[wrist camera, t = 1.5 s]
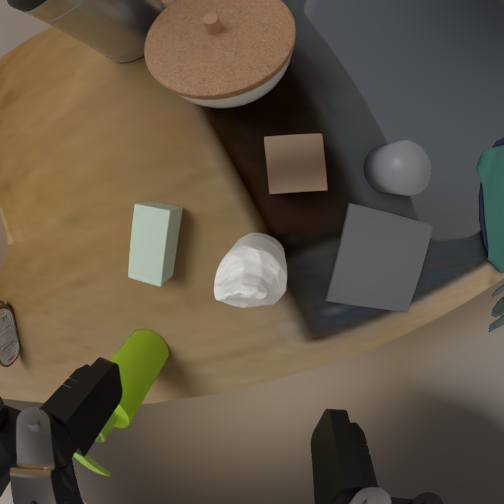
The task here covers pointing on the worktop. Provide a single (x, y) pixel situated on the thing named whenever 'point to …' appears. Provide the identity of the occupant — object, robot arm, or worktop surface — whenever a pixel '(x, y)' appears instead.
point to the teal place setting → (493, 214)
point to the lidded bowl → (221, 49)
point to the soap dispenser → (132, 382)
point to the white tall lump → (252, 272)
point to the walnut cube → (295, 163)
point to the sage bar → (154, 242)
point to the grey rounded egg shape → (398, 168)
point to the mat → (378, 259)
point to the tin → (8, 336)
